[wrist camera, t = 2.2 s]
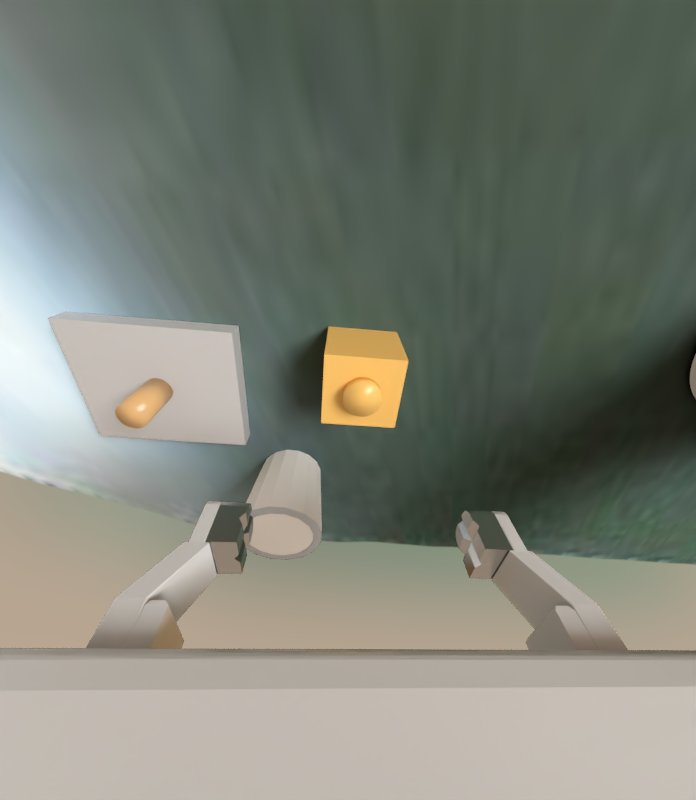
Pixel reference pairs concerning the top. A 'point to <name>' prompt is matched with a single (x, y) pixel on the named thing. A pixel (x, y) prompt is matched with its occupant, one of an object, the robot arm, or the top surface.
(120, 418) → the flat gray block
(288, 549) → the white cylinder
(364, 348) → the cube with dome knob
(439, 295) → the top surface
